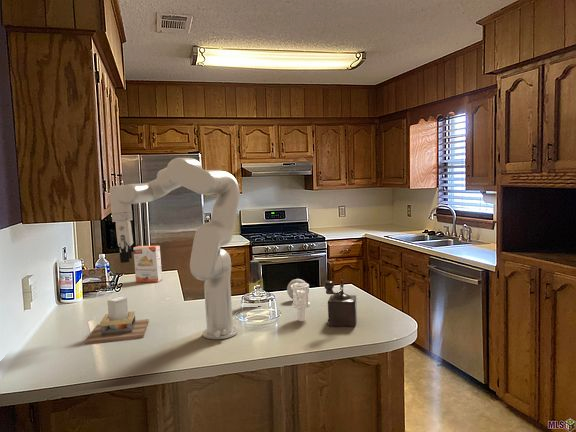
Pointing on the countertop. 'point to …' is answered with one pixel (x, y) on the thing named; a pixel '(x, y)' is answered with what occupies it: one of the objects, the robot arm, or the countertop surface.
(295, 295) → the clear stepped glass cylinder
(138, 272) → the cracker box
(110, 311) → the skincare box
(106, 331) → the frame
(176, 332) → the countertop surface
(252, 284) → the sauce bottle
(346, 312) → the manual coffee grinder
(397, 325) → the countertop surface
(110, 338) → the walnut board
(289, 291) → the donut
